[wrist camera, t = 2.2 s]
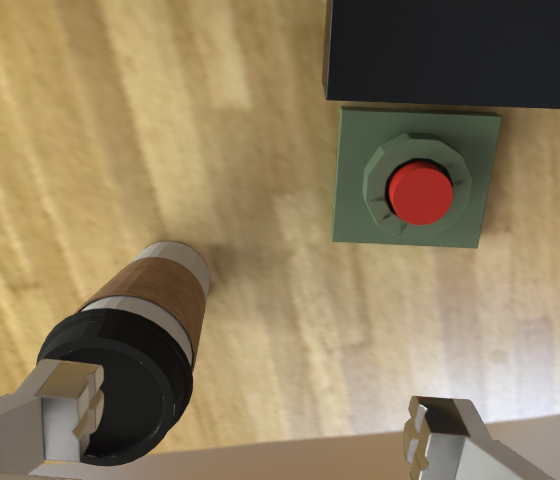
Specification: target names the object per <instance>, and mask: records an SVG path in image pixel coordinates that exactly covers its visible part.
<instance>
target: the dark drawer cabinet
mask: <svg viewBox="0 0 560 480" xmlns="http://www.w3.org/2000/svg"><path fill="white" fill-rule="evenodd" d="M322 82H323V87H324V92H325V96H326V100H336V101H362V102H389V103H415V104H442V105H468V106H495V107H521V108H548V109H560V0H327V9H326V26H325V43H324V61H323V78H322Z"/></svg>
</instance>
